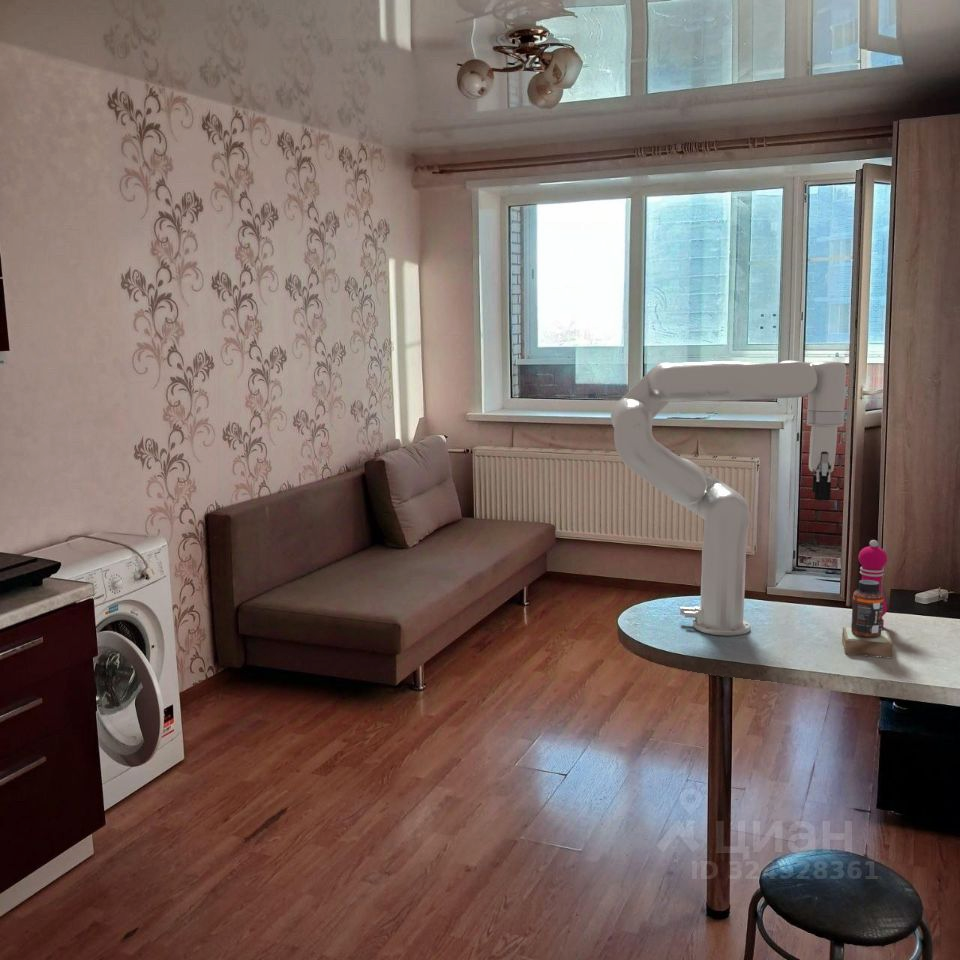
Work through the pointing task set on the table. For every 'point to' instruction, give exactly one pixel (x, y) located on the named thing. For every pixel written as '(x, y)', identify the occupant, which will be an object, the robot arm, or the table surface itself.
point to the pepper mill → (873, 566)
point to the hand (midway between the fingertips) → (820, 496)
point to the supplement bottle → (867, 609)
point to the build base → (867, 644)
